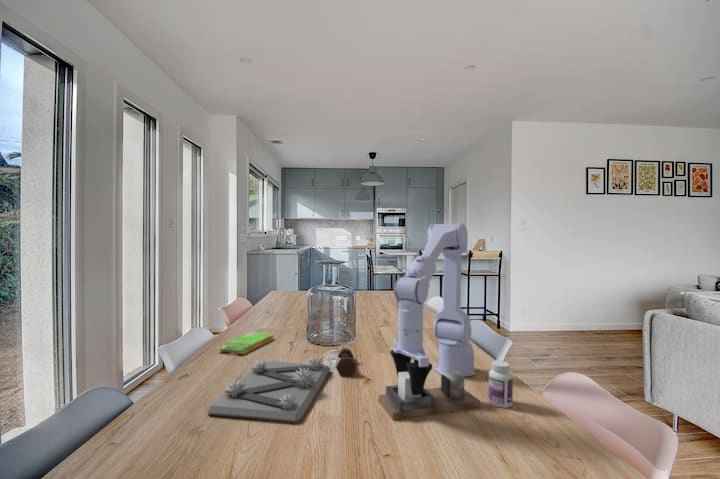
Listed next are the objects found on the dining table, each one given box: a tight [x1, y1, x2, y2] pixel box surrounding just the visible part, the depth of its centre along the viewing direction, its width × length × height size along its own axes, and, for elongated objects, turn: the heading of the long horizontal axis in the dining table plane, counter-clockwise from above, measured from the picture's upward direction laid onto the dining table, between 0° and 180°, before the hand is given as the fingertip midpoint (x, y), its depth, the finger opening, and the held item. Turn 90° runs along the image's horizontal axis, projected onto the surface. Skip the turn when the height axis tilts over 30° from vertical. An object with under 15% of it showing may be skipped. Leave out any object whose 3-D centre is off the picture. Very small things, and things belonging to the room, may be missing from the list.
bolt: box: [335, 347, 357, 377], centre depth 107 cm, size 6×5×15 cm
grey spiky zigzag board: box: [206, 355, 331, 423], centre depth 89 cm, size 30×22×7 cm
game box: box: [216, 331, 275, 355], centre depth 126 cm, size 3×10×20 cm
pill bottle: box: [488, 360, 514, 409], centre depth 84 cm, size 5×5×10 cm
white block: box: [397, 371, 422, 400], centre depth 82 cm, size 4×4×6 cm
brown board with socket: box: [378, 370, 481, 421], centre depth 83 cm, size 22×9×6 cm, turn 107°
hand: (409, 387), depth 82 cm, fingers open, 7 cm apart
